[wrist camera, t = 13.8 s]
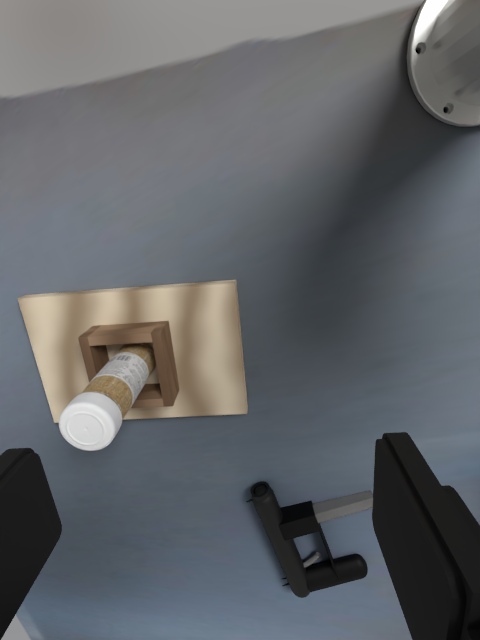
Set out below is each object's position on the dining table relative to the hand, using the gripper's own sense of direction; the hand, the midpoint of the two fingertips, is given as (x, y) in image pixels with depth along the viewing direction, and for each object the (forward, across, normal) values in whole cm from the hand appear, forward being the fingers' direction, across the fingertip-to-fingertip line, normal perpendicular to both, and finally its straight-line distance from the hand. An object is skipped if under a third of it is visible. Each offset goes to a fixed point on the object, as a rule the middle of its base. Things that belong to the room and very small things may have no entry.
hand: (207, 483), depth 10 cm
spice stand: (+30, +13, +9) cm, 34 cm away
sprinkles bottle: (+29, +13, +9) cm, 33 cm away
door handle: (+31, -8, +37) cm, 49 cm away
